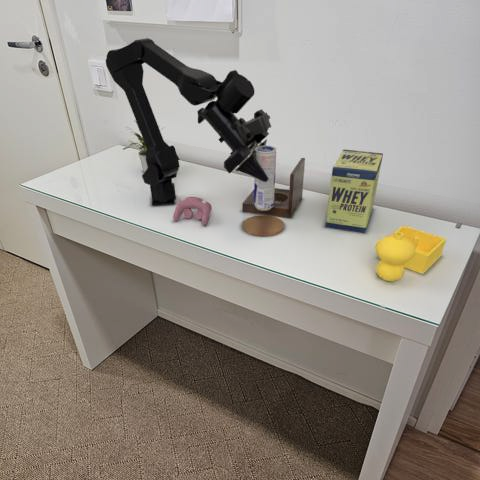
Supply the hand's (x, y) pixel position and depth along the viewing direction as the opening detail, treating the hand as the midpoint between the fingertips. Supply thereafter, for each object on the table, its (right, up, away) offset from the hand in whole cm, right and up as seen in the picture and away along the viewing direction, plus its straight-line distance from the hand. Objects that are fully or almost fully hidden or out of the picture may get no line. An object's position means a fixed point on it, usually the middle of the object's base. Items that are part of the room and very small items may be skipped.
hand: (270, 176), depth 107 cm
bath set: (+29, -23, -8) cm, 38 cm away
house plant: (-38, +15, +41) cm, 59 cm away
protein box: (+22, -8, +11) cm, 26 cm away
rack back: (+8, -4, +16) cm, 19 cm away
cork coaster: (-1, -11, +8) cm, 13 cm away
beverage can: (-1, -6, +6) cm, 9 cm away
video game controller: (-20, -8, +12) cm, 25 cm away
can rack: (+2, -2, +18) cm, 18 cm away
